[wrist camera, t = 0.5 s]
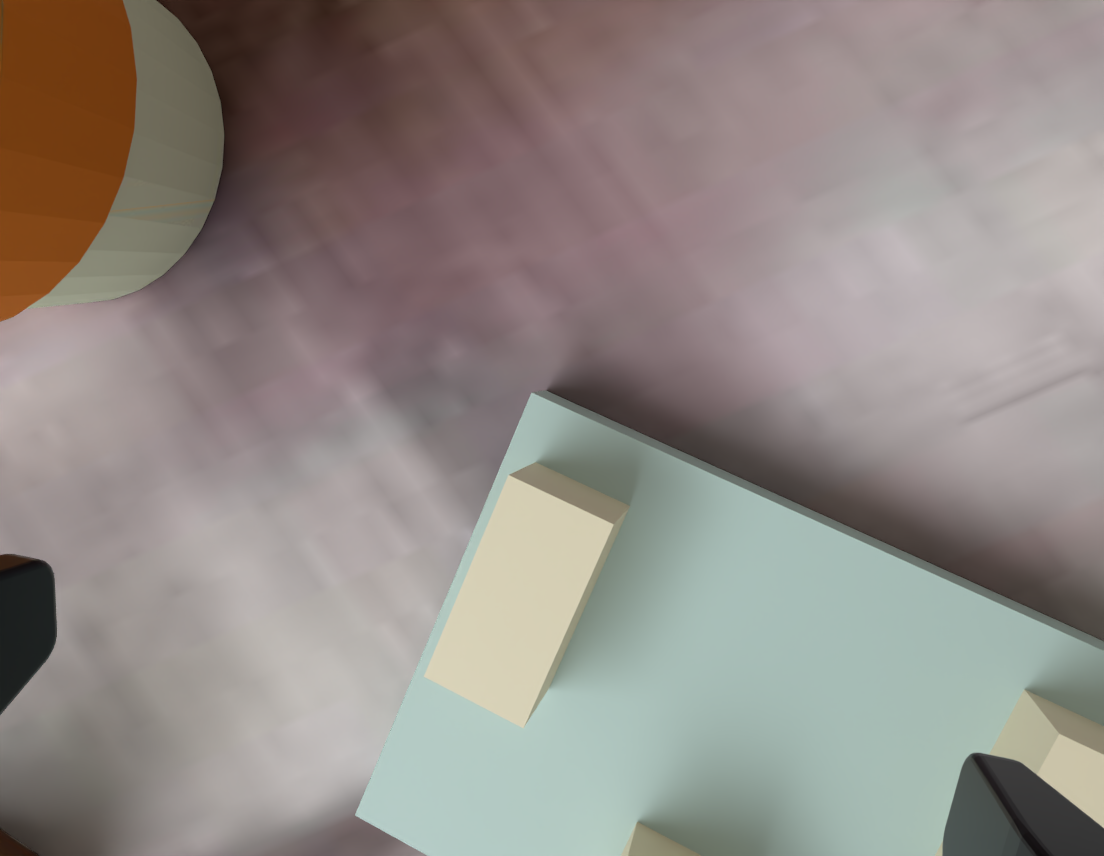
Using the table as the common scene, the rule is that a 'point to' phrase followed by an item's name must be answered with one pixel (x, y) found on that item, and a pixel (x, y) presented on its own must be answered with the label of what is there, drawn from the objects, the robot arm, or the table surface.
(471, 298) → the table surface
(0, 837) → the food container
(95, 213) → the reusable coffee cup
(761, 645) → the display stand
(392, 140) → the table surface
